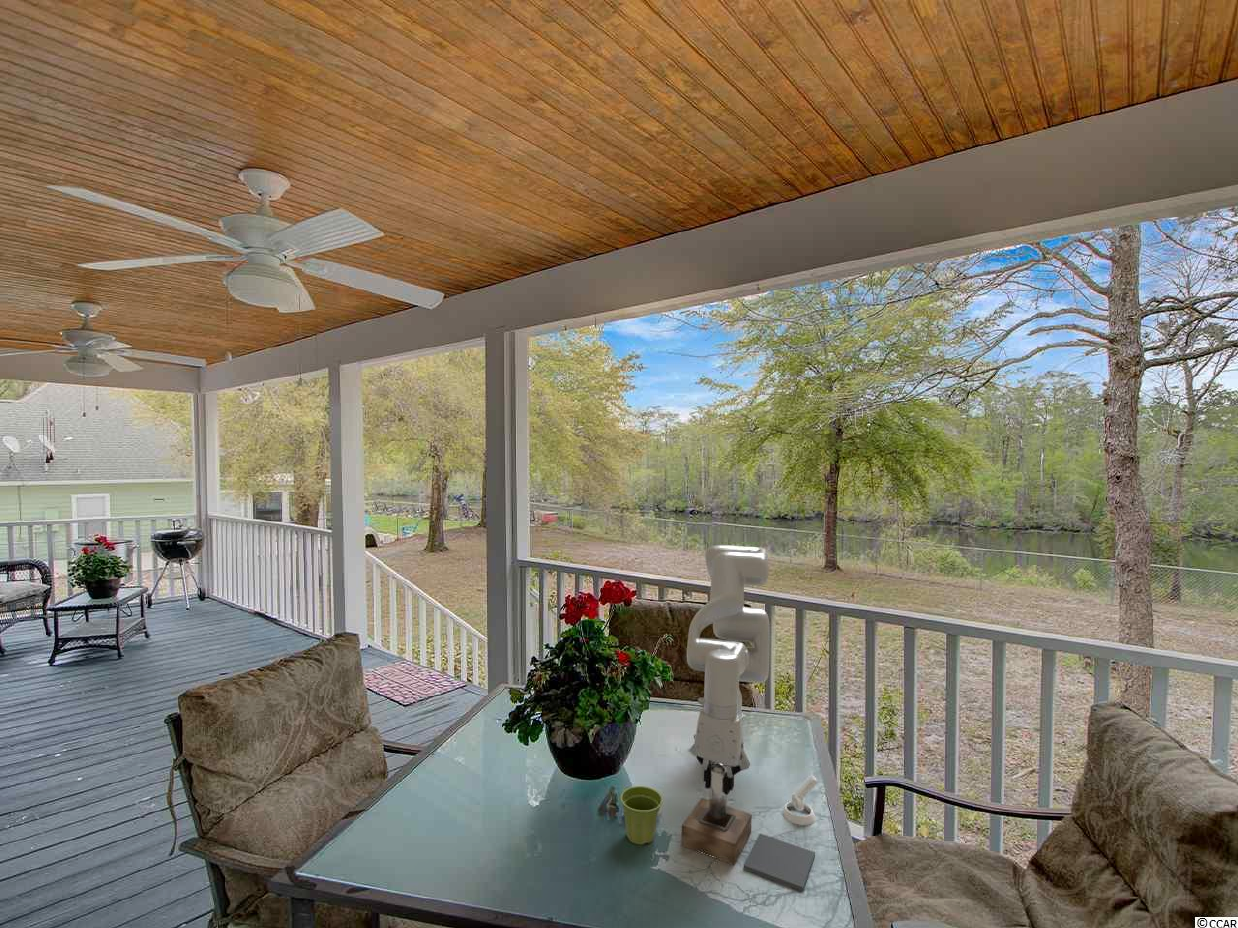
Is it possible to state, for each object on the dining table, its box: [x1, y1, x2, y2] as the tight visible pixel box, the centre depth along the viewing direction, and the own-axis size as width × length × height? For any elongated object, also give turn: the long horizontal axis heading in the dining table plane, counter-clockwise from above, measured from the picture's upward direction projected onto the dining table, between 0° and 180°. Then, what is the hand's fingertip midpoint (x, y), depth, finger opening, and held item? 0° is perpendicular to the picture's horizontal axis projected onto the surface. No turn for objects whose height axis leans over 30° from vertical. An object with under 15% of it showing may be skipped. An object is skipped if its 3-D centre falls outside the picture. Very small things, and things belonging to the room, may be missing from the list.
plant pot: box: [620, 785, 663, 846], centre depth 131 cm, size 9×9×9 cm
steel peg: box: [708, 763, 728, 819], centre depth 131 cm, size 4×4×11 cm
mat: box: [743, 833, 816, 892], centre depth 124 cm, size 12×12×1 cm
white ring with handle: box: [781, 774, 818, 826], centre depth 140 cm, size 8×12×7 cm
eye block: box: [680, 797, 753, 866], centre depth 131 cm, size 12×12×5 cm
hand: (718, 787), depth 131 cm, fingers closed on steel peg, 3 cm apart
